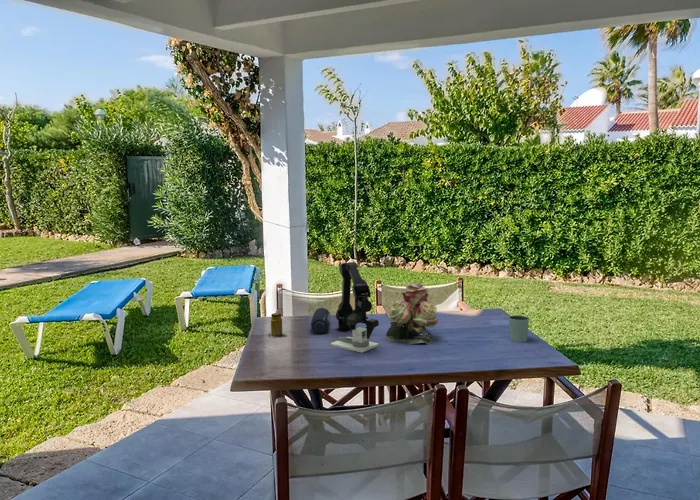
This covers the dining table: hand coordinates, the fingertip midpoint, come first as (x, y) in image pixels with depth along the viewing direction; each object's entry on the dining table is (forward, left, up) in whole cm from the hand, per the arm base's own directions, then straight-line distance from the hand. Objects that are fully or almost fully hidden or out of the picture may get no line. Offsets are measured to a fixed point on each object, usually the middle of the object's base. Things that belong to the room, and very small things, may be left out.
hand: (360, 337), depth 271 cm
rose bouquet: (+14, +29, -5) cm, 32 cm away
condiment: (-48, -11, -5) cm, 50 cm away
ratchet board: (-4, 0, -5) cm, 6 cm away
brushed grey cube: (0, 0, -2) cm, 2 cm away
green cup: (+59, +58, -5) cm, 83 cm away
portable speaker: (-38, +12, -5) cm, 40 cm away
